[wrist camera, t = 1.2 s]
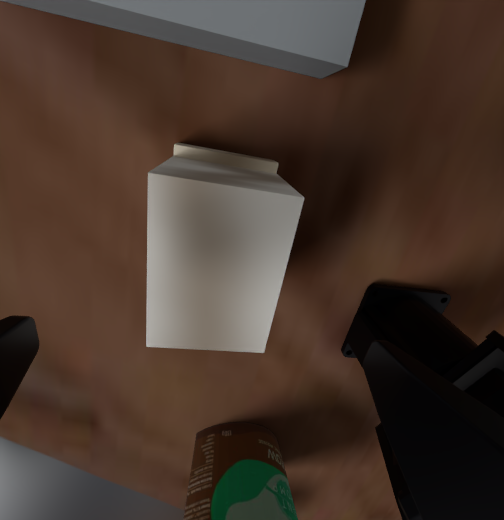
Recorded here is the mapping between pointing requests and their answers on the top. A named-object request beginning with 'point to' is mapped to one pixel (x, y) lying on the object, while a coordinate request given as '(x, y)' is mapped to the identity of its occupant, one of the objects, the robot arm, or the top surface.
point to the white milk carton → (216, 249)
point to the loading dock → (234, 27)
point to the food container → (238, 476)
